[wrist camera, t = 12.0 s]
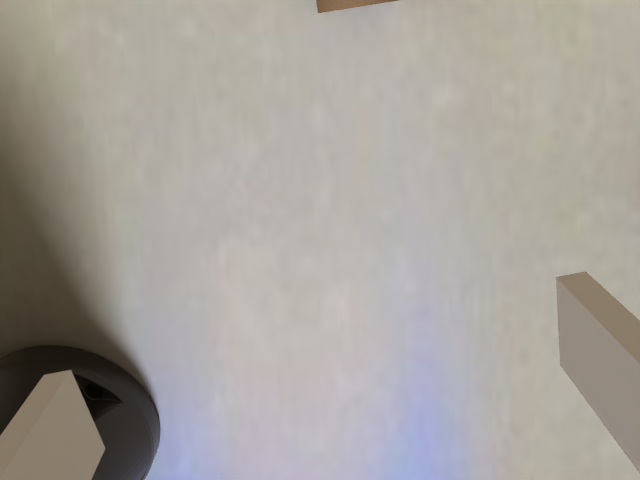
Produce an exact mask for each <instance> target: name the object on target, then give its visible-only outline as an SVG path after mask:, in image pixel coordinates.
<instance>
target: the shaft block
mask: <svg viewBox="0 0 640 480" xmlns="http://www.w3.org/2000/svg"><path fill="white" fill-rule="evenodd" d="M316 1H317V8H318V13H322V12H328V11H334V10H340V9H347V8H353V7H359V6H365V5H372V4H378V3H384V2H391V1H397V0H316Z"/></svg>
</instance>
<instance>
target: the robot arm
mask: <svg viewBox="0 0 640 480" xmlns="http://www.w3.org/2000/svg"><path fill="white" fill-rule="evenodd" d="M556 287H557V308H558V329H559V350H560V365H561V367H562V368H563V369H564V371H565V372H566V373H567V375H568V376H569V378H570V379H571V380H572V382H573V383H574V384H575V386H576V387H577V388H578V390H579V391H580V393H581V394H582V395H583V397H584V398H585V399H586V401H587V402H588V403H589V405H590V406H591V408H592V409H593V410H594V412H595V413H596V414H597V416H598V417H599V418H600V420H601V421H602V423H603V424H604V425H605V427H606V428H607V429H608V431H609V432H610V433H611V435H612V436H613V438H614V439H615V440H616V442H617V443H618V444H619V446H620V447H621V448H622V450H623V451H624V453H625V454H626V455H627V457H628V458H629V459H630V461H631V462H632V463H633V465H634V466H635V467H636V469H637V470H638V472H639V473H640V321H639V320H638V319H637V318H636V317H635V316H634V315H633V314H632V313H631V312H629V311H628V310H627V309H626V308H625V307H624V306H623V305H622V304H621V303H620V302H618V301H617V300H616V299H615V298H614V297H613V296H612V295H611V294H610V293H609V292H607V291H606V290H605V289H604V288H603V287H602V286H601V285H600V284H599V283H598V282H597V281H595V280H594V279H593V278H592V277H591V276H590V275H589V274H588V273H587V272H581V273H576V274H570V275H565V276H560V277H556ZM159 440H160V424H159V419H158V415H157V412H156V410H155V407H154V405H153V403H152V401H151V399H150V398H149V396H148V395H147V393H146V392H145V390H144V389H143V388H142V387H141V386H140V384H139V383H138V382H137V381H136V380H135V379H134V378H133V377H132V376H130V375H129V374H128V373H127V372H125V371H124V370H123V369H121V368H120V367H118V366H117V365H115V364H114V363H112V362H110V361H108V360H106V359H104V358H102V357H100V356H97V355H95V354H92V353H89V352H86V351H83V350H79V349H74V348H68V347H60V346H42V347H33V348H28V349H24V350H20V351H17V352H15V353H12V354H10V355H8V356H6V357H4V358H2V359H1V360H0V480H144V479H145V478H146V476H147V474H148V472H149V470H150V468H151V465H152V463H153V460H154V457H155V455H156V452H157V449H158V446H159Z"/></svg>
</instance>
